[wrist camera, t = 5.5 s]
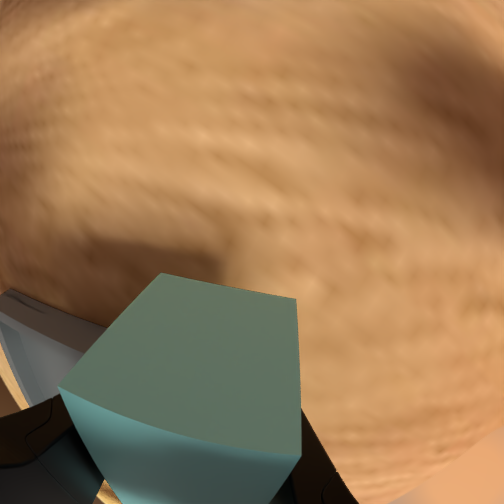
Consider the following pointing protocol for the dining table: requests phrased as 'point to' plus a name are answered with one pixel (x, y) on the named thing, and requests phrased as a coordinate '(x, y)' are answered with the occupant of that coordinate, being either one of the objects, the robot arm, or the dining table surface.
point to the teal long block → (192, 395)
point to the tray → (42, 343)
